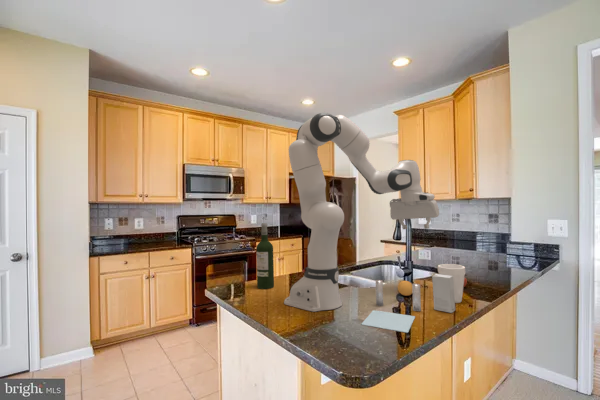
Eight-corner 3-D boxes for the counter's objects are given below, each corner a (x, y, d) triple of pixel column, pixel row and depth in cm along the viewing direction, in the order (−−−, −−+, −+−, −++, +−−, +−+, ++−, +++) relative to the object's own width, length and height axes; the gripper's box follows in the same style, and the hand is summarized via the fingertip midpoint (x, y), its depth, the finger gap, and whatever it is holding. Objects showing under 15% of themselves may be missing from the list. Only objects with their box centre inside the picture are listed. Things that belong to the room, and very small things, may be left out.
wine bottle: (254, 288, 140) (252, 223, 140) (261, 284, 147) (260, 222, 148) (269, 289, 137) (268, 223, 138) (276, 285, 144) (275, 222, 145)
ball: (396, 296, 122) (396, 281, 123) (399, 292, 128) (399, 278, 128) (412, 298, 120) (411, 283, 120) (414, 294, 125) (414, 279, 125)
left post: (375, 305, 112) (374, 281, 112) (377, 303, 115) (376, 279, 115) (382, 306, 111) (381, 281, 111) (384, 304, 113) (383, 280, 114)
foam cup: (469, 304, 111) (468, 269, 111) (442, 303, 112) (441, 268, 113) (461, 296, 120) (460, 264, 120) (436, 296, 122) (435, 263, 122)
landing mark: (361, 324, 95) (361, 324, 95) (373, 310, 107) (373, 310, 107) (407, 332, 88) (407, 332, 88) (415, 316, 100) (415, 316, 100)
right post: (412, 310, 106) (411, 284, 106) (413, 308, 108) (412, 283, 108) (420, 311, 105) (419, 285, 105) (421, 309, 107) (420, 283, 107)
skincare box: (455, 310, 105) (454, 275, 106) (451, 313, 102) (450, 277, 102) (437, 306, 110) (436, 273, 110) (432, 309, 106) (431, 275, 107)
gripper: (386, 200, 135) (389, 230, 136) (433, 195, 122) (437, 229, 122) (392, 198, 140) (395, 228, 140) (438, 194, 127) (442, 227, 127)
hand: (415, 228), depth 131 cm, fingers open, 8 cm apart
